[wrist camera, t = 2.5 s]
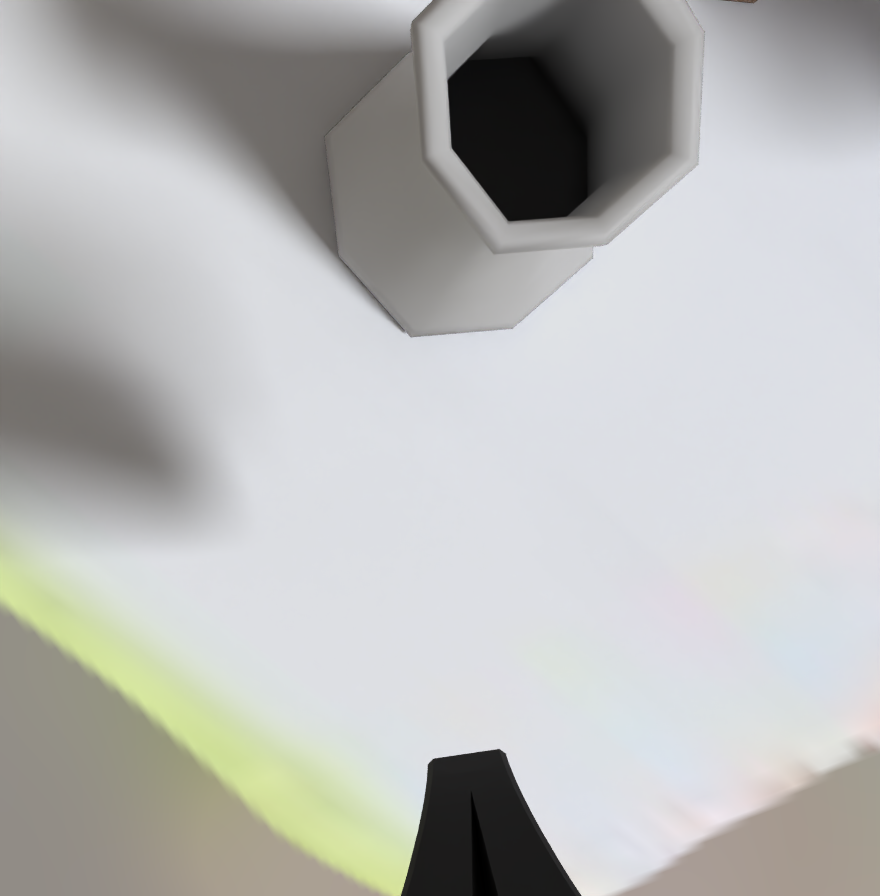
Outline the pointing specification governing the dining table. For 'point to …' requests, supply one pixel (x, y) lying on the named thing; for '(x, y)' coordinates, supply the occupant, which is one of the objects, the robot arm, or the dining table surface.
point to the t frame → (748, 0)
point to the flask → (511, 152)
